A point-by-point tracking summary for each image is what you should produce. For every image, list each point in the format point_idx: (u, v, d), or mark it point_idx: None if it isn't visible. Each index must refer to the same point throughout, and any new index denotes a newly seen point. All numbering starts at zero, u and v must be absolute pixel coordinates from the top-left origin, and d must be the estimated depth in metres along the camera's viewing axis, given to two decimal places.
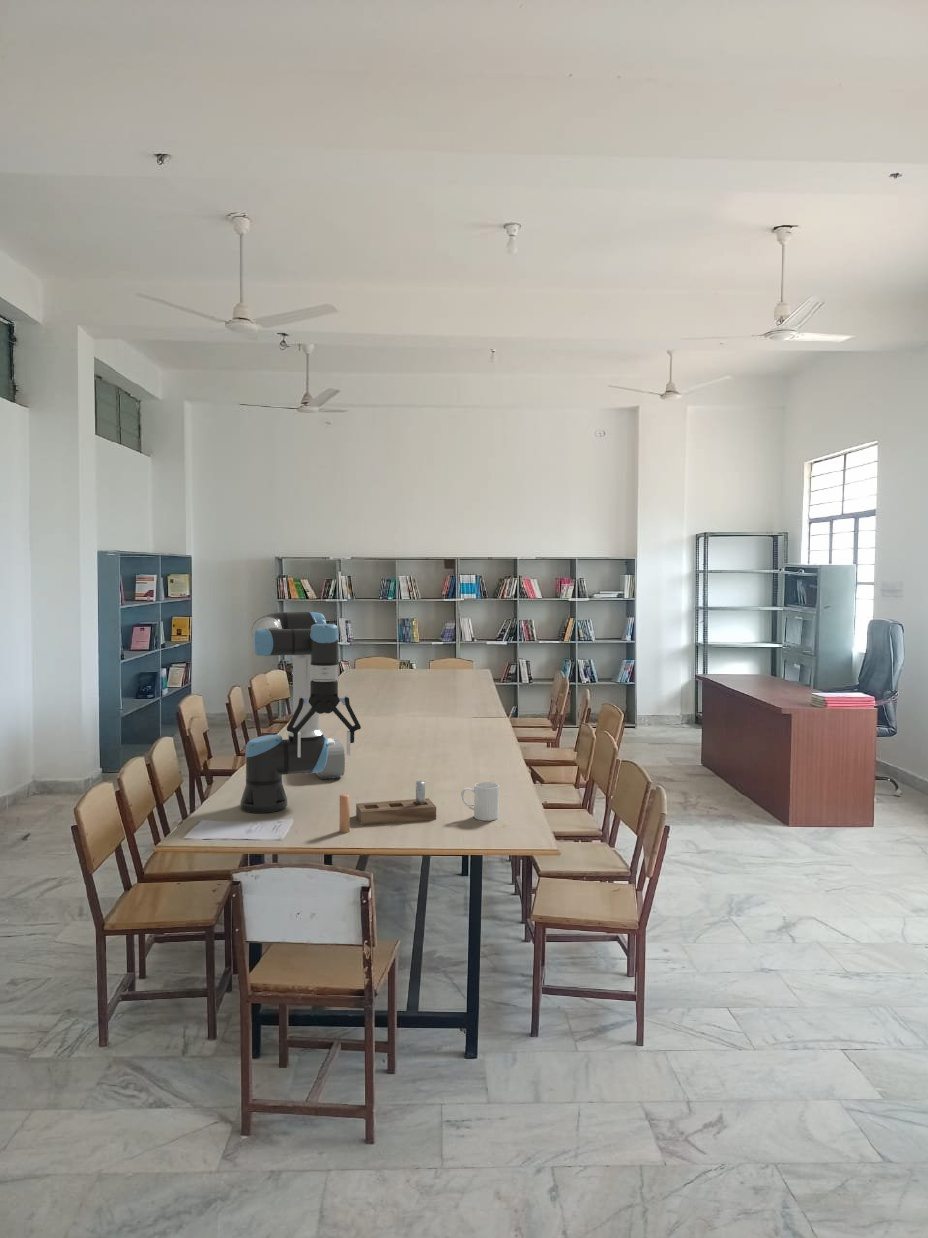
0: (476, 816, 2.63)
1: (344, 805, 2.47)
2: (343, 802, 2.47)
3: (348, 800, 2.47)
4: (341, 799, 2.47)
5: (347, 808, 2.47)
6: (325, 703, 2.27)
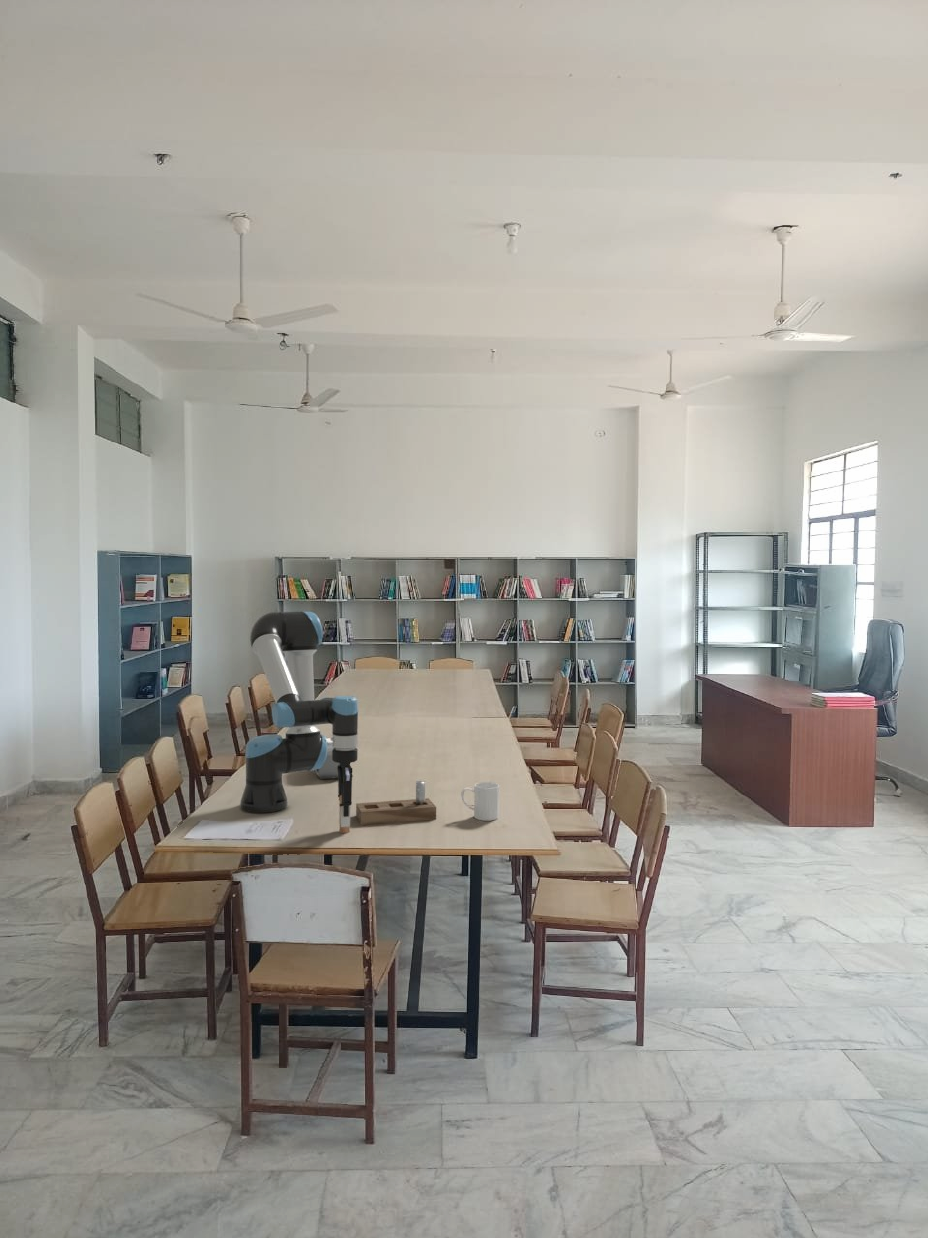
0: (476, 816, 2.63)
1: None
2: None
3: None
4: (341, 799, 2.47)
5: None
6: (341, 768, 2.47)
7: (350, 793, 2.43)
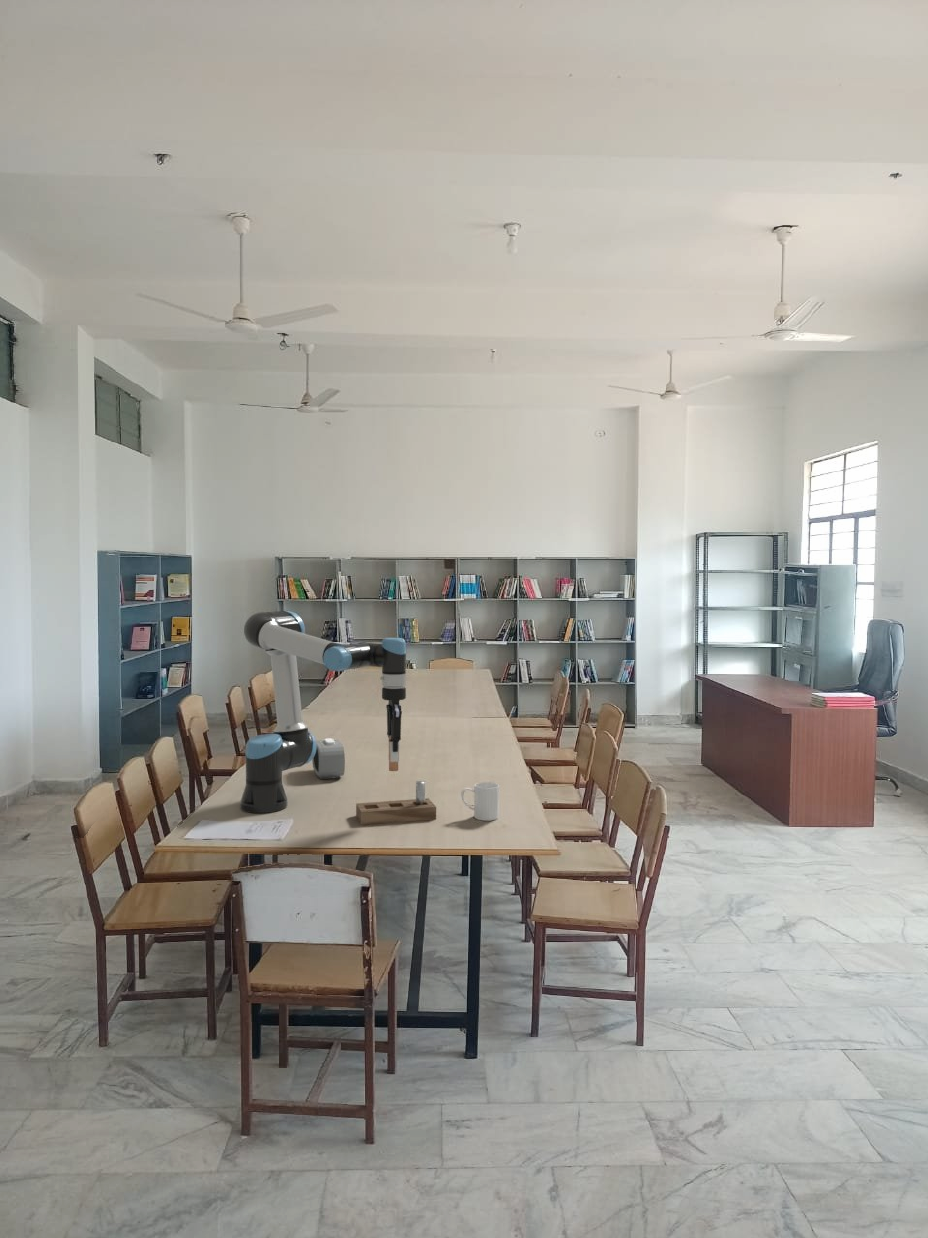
0: (476, 816, 2.63)
1: None
2: None
3: None
4: (390, 739, 2.60)
5: None
6: (390, 705, 2.60)
7: (399, 729, 2.56)
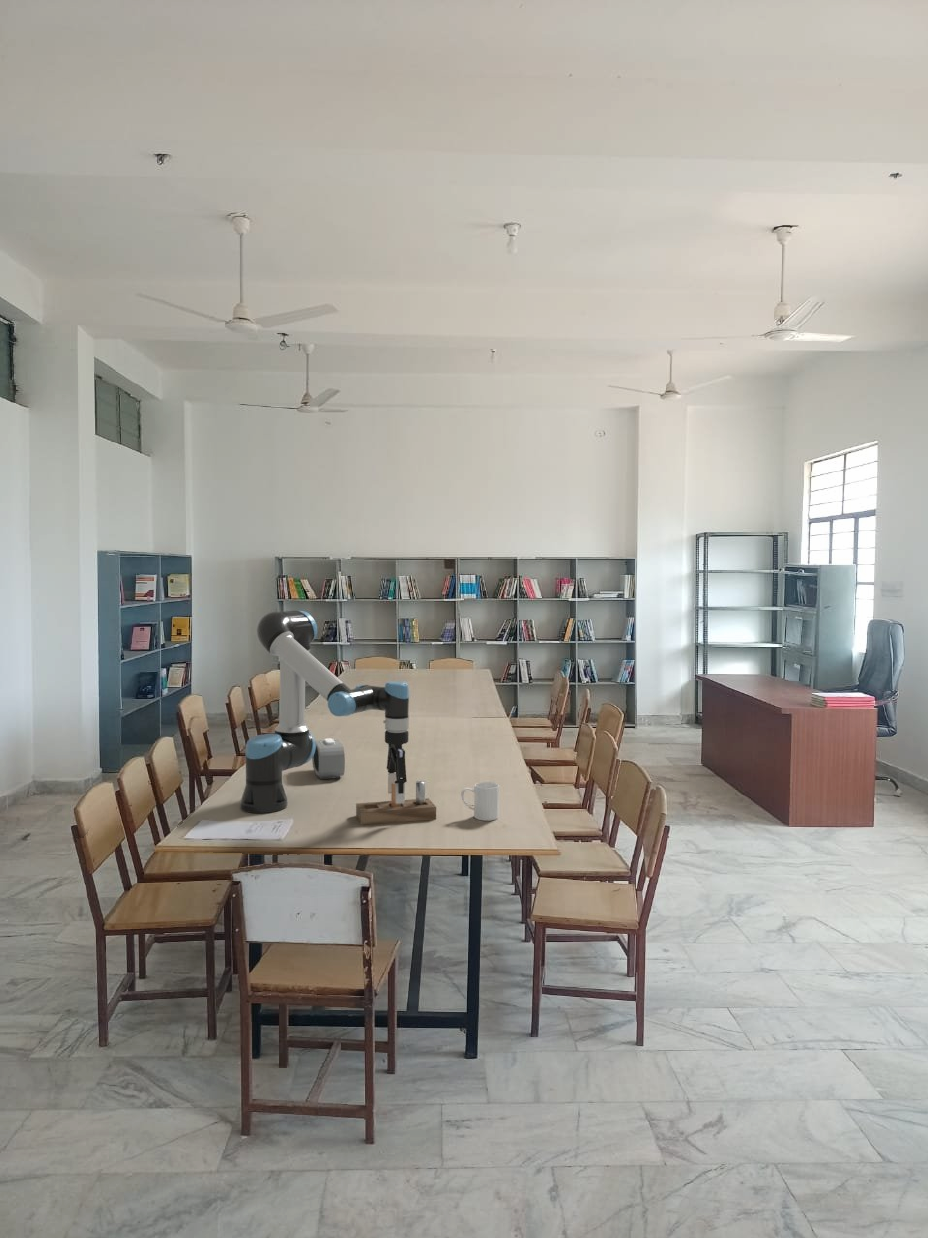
0: (476, 816, 2.63)
1: None
2: (395, 789, 2.62)
3: None
4: (393, 787, 2.62)
5: None
6: None
7: (404, 769, 2.55)
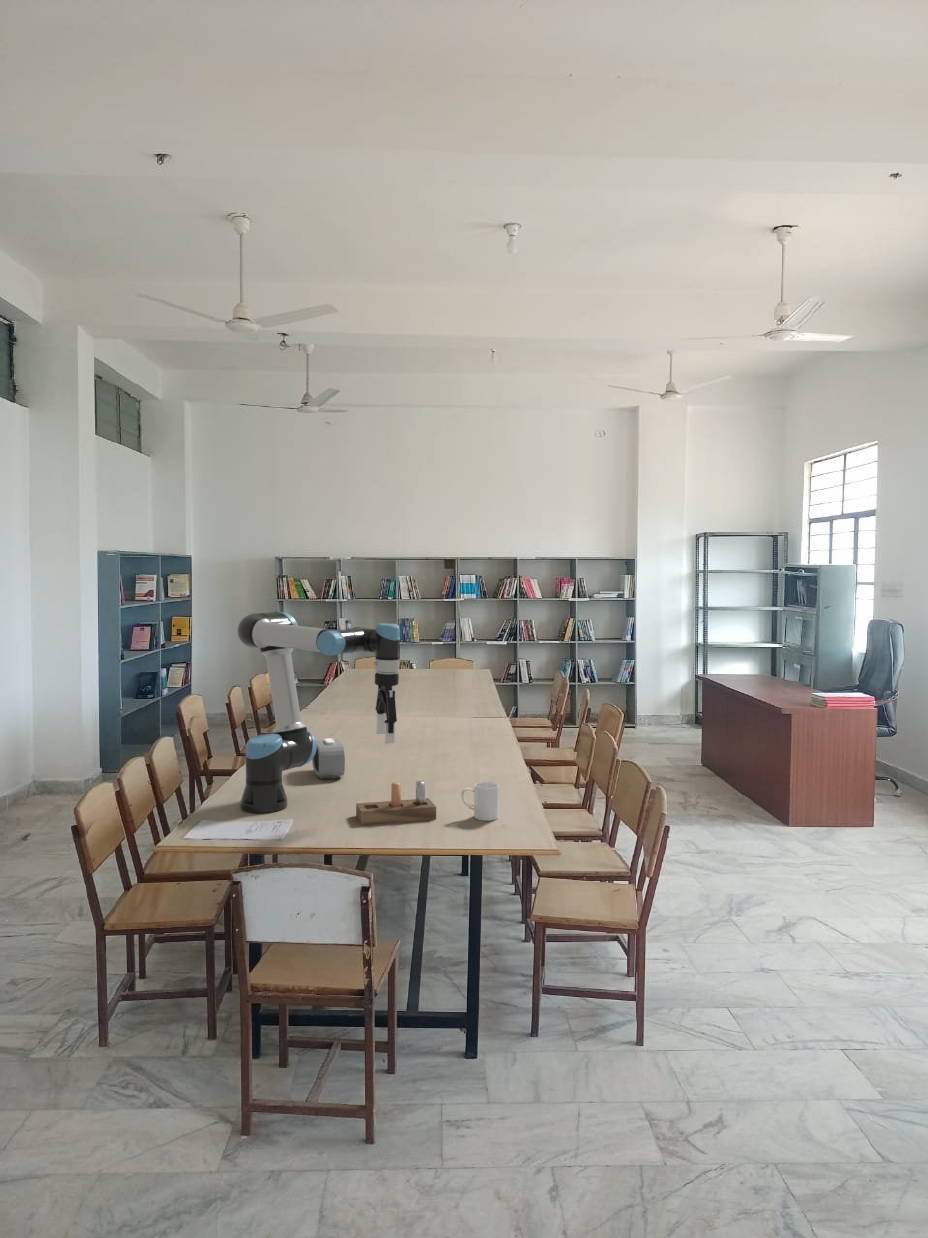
0: (476, 816, 2.63)
1: (396, 792, 2.62)
2: (395, 789, 2.62)
3: (399, 788, 2.62)
4: (393, 787, 2.62)
5: (399, 795, 2.62)
6: None
7: (394, 709, 2.54)
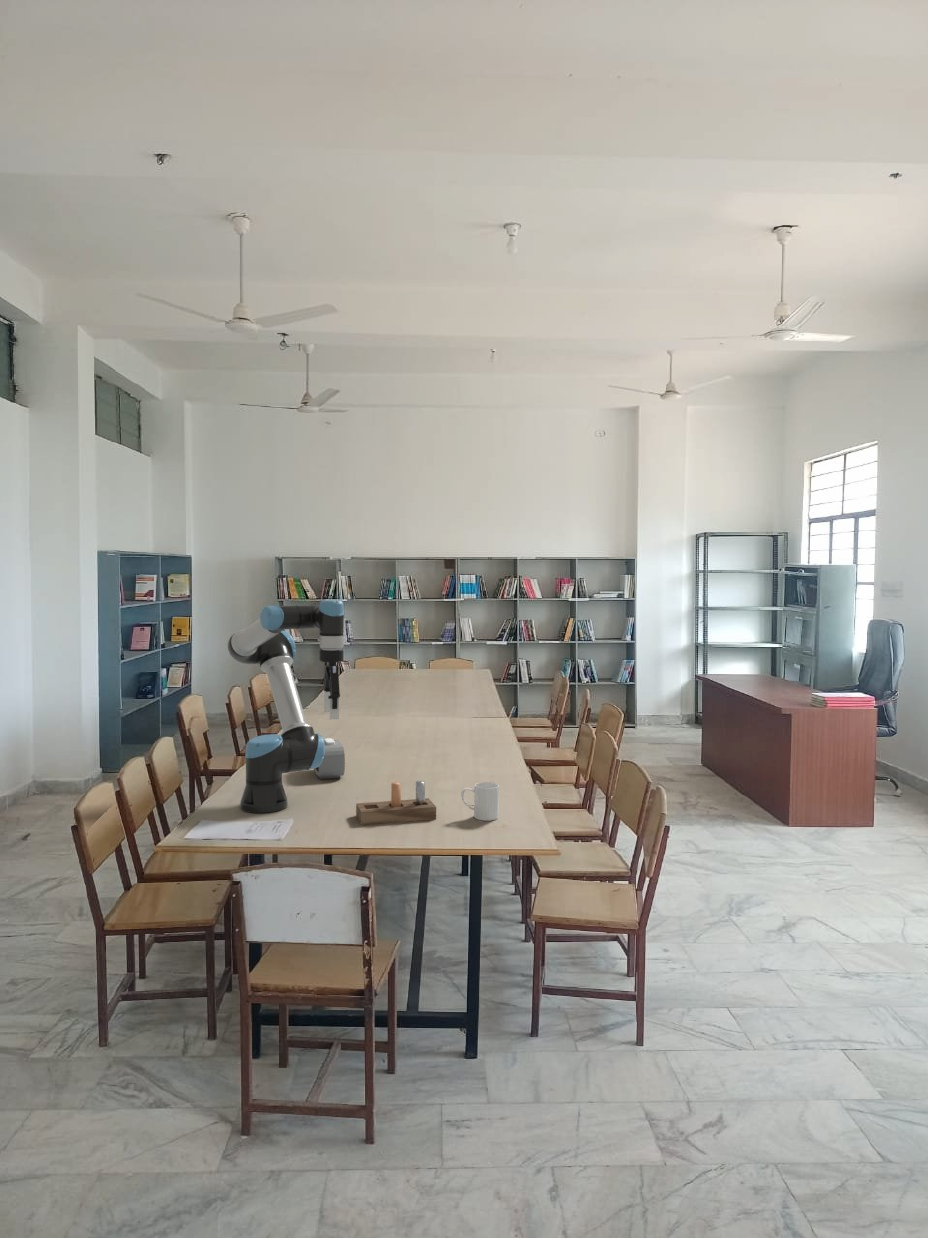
0: (476, 816, 2.63)
1: (396, 792, 2.62)
2: (395, 789, 2.62)
3: (399, 788, 2.62)
4: (393, 787, 2.62)
5: (399, 795, 2.62)
6: None
7: (338, 684, 2.53)
